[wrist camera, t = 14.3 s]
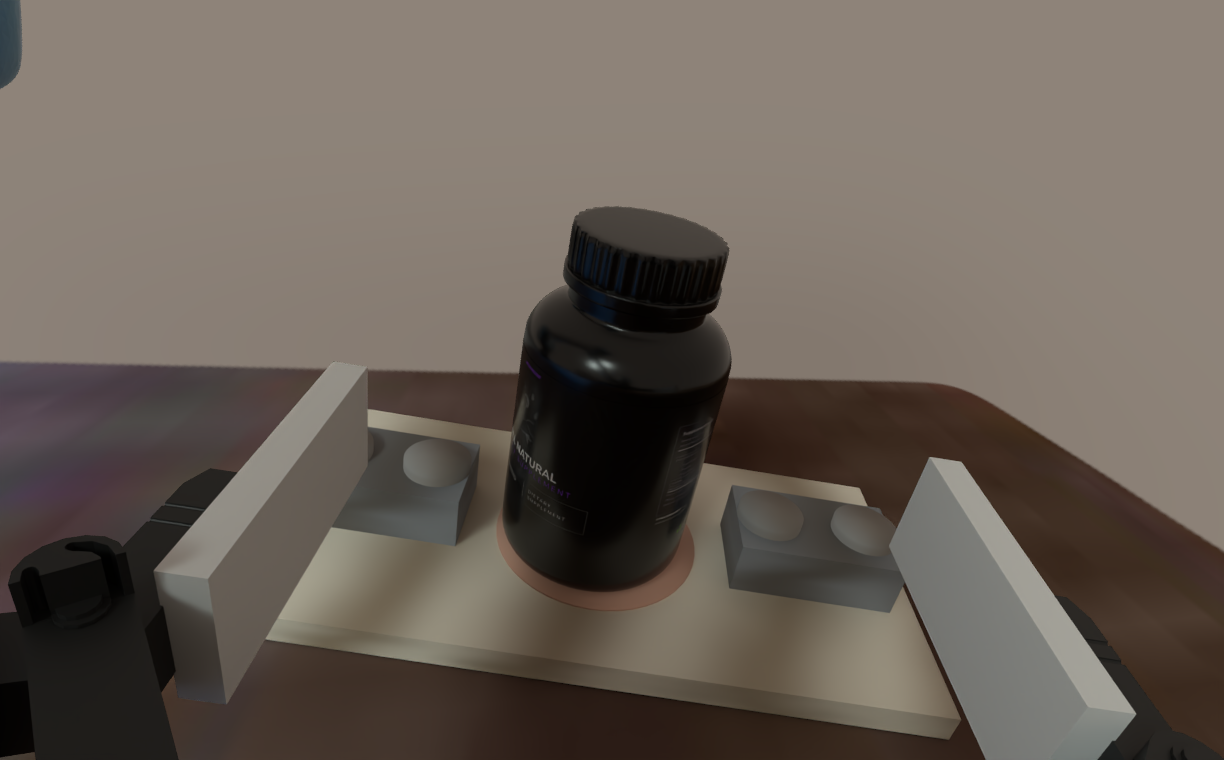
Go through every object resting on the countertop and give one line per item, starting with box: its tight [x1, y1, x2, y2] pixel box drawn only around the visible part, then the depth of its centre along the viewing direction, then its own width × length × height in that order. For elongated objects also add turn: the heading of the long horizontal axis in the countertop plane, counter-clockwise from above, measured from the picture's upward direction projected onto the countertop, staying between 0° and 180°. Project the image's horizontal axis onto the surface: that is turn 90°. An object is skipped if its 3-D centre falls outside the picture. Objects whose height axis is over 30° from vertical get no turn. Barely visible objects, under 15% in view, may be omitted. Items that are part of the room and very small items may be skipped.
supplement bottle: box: [502, 206, 731, 592], centre depth 24 cm, size 7×7×12 cm
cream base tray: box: [266, 409, 961, 740], centre depth 27 cm, size 24×12×3 cm, turn 88°
